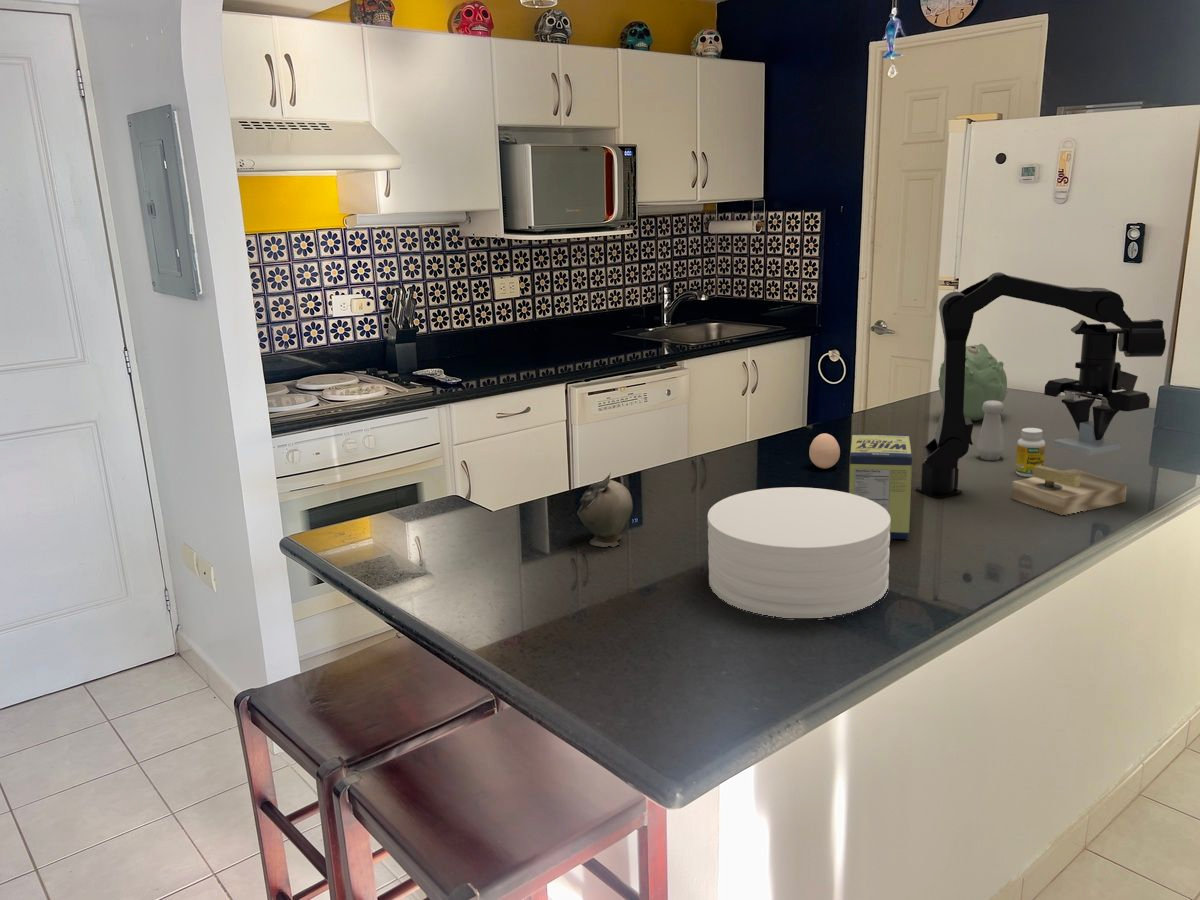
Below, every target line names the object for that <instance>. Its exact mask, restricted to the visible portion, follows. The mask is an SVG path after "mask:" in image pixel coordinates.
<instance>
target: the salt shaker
mask: <svg viewBox="0 0 1200 900" xmlns="http://www.w3.org/2000/svg"><path fill="white" fill-rule="evenodd" d="M1004 407H1005V406H1004V403H1003V402H1000V401H994V400H991V401H986V402H984V403H983V407H982V410H983V411H984V412H985V415H984V418H983V419H982V424H981V428H980V433H979V436H978V439H977V444H976V451H977V454H978V456H979V457H980V459H981V460H983V459H984V461H989V462H990V460H991V461H998V460H999V459H1000V458H1001V457H1002V455H1003V453H1004V451H1005V441H1004V440H1005V439H1004V432H1003V424H1002V415H1001V413H1002V412H1003V411H1004Z"/></svg>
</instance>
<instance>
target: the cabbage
mask: <svg viewBox="0 0 1200 900" xmlns="http://www.w3.org/2000/svg"><path fill="white" fill-rule="evenodd" d="M943 378H944V361H943V362H942V363H940V368H939V377H938V388H939V393H940V397H941V399H942V400H943ZM1007 388H1008V380H1007V374H1006V371H1005V369H1004V362H1003V361H997V358H996V357H995V356H993V354H991V353H990V352H989V350H988V348H987V346H985V344H983V343H980V344H974V345H966V357H965V383H964V409H963V413H964V418H968V417H969V418H970V420H971V422H973V421H974V422H976V421H980V420H983V419H984V415H985V412H984V411H983V410H982V407H983V403H984V402H986V401H991V400H994V401H1000V402H1002V403H1003V402H1004V401H1005V399H1006V397H1007V394H1008V390H1007Z"/></svg>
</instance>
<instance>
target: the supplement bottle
mask: <svg viewBox="0 0 1200 900" xmlns="http://www.w3.org/2000/svg"><path fill="white" fill-rule="evenodd" d="M1020 431H1021V433H1020V435H1021V437H1020V438H1019V439H1018V440H1017V443H1016V444H1017V445H1016V460H1015V474H1017V475H1018V476H1021V477H1025V478H1032V477H1033V472H1034V466H1038V465H1041V466H1045V457H1046V456H1045V455H1046V441H1045V440H1044V439H1042V438H1043V432H1044V431H1043V430H1042V428H1036V427H1025V428H1022V429H1021V430H1020Z"/></svg>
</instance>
